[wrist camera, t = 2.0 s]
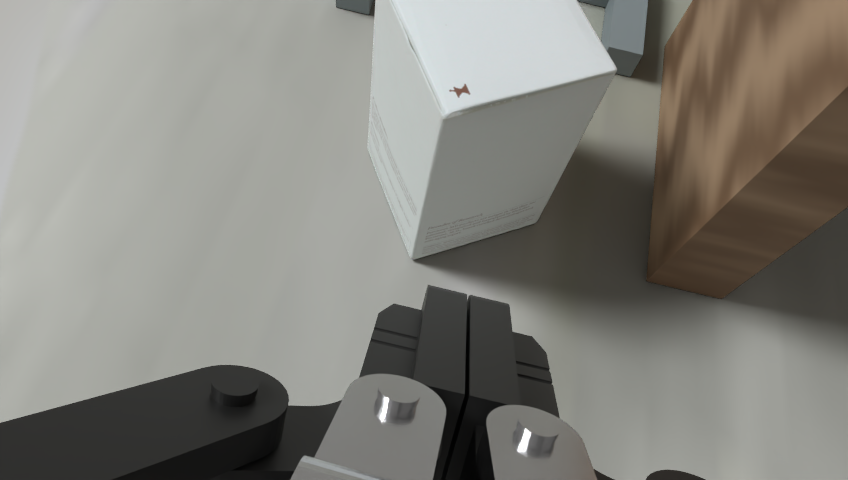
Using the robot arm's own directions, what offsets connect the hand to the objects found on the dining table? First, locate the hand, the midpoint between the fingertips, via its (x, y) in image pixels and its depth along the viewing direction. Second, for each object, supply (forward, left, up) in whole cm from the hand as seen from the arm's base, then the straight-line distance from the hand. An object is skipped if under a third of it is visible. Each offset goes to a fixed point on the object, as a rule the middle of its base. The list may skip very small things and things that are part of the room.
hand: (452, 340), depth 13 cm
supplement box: (-9, -13, -21) cm, 26 cm away
